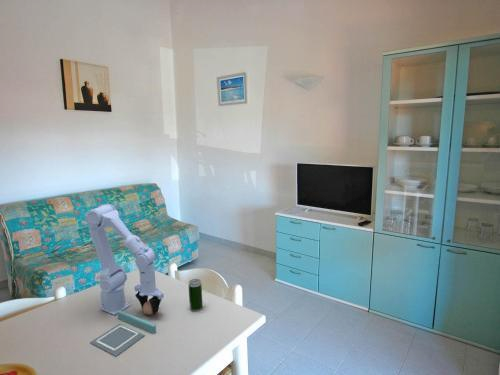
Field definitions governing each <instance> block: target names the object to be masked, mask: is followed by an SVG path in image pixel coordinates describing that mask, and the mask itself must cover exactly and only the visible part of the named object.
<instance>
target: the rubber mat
mask: <svg viewBox="0 0 500 375" xmlns="http://www.w3.org/2000/svg"><path fill="white" fill-rule="evenodd" d="M145 337H146V335H145V334H143V333H141V332H139V331H137V330H135V329H132V328H129V327H127V326H125V325H123V324H121V323H118V324H117V325H115V326H114V327H112V328H110V329H109V330H107V331H105V332H103V333H102V334H101V335H99V336H98V337H96V338H94V339H93V340H91V341H90V342H89V343H90V345H92V346H93V347H94V346H95V347H97V348H99V349H100V350H102V351H105V352H106V353H108V354H110V355H111V356H114V357H115V358H116V357H118V356H120V355H121V354H122V353H123V352H125V351H126V350H128V349H129V348H130V347H132V346H133V345H135V344H136V343H137V342H139V341H140V340H141V339H143V338H145Z"/></svg>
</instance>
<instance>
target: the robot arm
mask: <svg viewBox="0 0 500 375" xmlns="http://www.w3.org/2000/svg"><path fill="white" fill-rule="evenodd" d="M85 219H86V222H87V224H88V226H87V227H88V231H89V234H90V238H91V240H92V243H93V245H94V246H93V247H94V249H95V251H96V255H97V258H98V260H99V263H100V266H101V271H100V274H99V275H98V279H99V287H100V289H101V292H100V301H101V307H100V308H99V309H100V310H101V311H104V312H106V313H108V314H111V315H112V316H115V315H118V314H117V312H118V311H119V310H121V311H124V310H125V309H127V308H129V307H130V306H131V304H130V303H127V302H126V296H125V295H126V294H125V282H127V280H128V274H127V273H126V271H125V270H124V269H123V267H122V265H120V264H118V263H117V262H116V259H115V256H114V253H113V250H112V247H111V245H110V242H109V239H108V238H109V237H108V236H107V232H106V230H105V229H106V227H110V228H111V229H112V230H113V231H114V232H115V233H117V235H118V236H119V237H121V239H123V240H124V246H125V248H126V249H127V250H128V251H129V252H130V254H131V255H132V256H133V258H135V260H134V263H135V264H136V266H137V269H138V271H139V282H140V284H137V285H135V286H134V287H133V289H134V292H136V294H135V295H134V296H135V298H137V300H138V302H139V304H140V306H141V309H142V310H143V305H144V303H145V302H147V301H150V303H151V306H152V311H153V314H152V315H156V314H157V313H158V312H159V309H160V304H161V301H162V300H163V298H164V296H165V295H164V292H162V291H161V290H159V288H157V285H156V284H157V283H156V271H155V261H156V260H157V253H156V251H155V250H154V249H153V248H151V247H149V246H147V245H145V243H143V241H142V239H141V238H140V237H139V236H138V235H135V234H132V233H131V231H130V230H129V229H128V228H127V226H126V225H125V223H124V222H123V221H122V219H121V218H120V216H119V211H118V210H117V209H116V207H115V206H114V205H113V204H109V203H108V204H105V205H102V206H99V207H96V208H92V209H89V210H88V212H87V213H86V215H85ZM150 296H151V298H149V297H150Z"/></svg>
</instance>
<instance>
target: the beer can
mask: <svg viewBox="0 0 500 375" xmlns="http://www.w3.org/2000/svg"><path fill="white" fill-rule="evenodd" d="M188 299H189V300H188V303H189V309H190V311H192V312H199V311H201V310H202V309H203V284H202V281H201V279H199V278H193V279H190V280H189V281H188Z"/></svg>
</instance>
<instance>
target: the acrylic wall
mask: <svg viewBox="0 0 500 375" xmlns="http://www.w3.org/2000/svg"><path fill="white" fill-rule="evenodd" d="M116 315H117V319H118V320H121V321H123V322H125V323H128V324H130V325H132V326H135V327H137V328H139V329H141V330H144V331H145V332H149V333H151V334H153V335H154V334H155V333H157V326H156V325H157V324H154V323H152V322H150V321H147V320H146V319H145V320H144V318H143V319H142V318H140V317H137V316H135V315H132V314H130V313H128V312H125V311H124V310H122V311H121V310H119V311H118V312H117V314H116Z"/></svg>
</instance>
